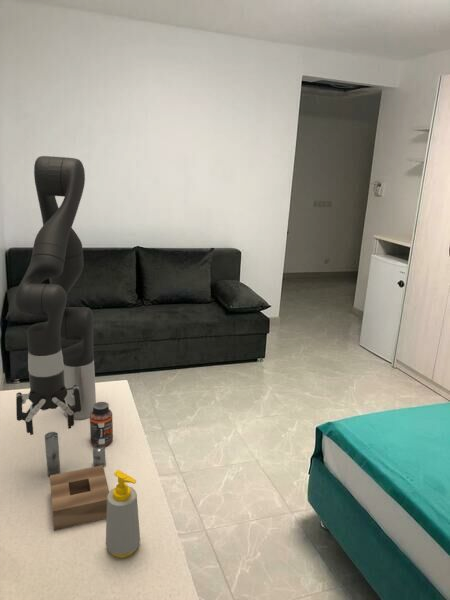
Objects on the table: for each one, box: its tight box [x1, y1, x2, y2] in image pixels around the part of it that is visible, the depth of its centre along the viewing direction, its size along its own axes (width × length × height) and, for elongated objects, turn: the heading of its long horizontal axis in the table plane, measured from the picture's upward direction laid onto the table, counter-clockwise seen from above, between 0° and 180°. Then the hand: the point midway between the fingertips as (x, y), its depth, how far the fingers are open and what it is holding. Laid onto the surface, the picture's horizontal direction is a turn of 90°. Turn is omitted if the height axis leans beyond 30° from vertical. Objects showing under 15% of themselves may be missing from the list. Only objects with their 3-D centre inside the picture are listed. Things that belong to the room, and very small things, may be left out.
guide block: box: [49, 465, 110, 531], centre depth 110 cm, size 12×12×5 cm
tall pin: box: [44, 431, 61, 478], centre depth 118 cm, size 3×3×11 cm
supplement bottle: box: [89, 401, 114, 447], centre depth 132 cm, size 6×6×11 cm
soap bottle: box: [105, 469, 141, 559], centre depth 97 cm, size 7×7×18 cm
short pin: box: [92, 445, 107, 468], centre depth 123 cm, size 3×3×5 cm
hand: (50, 430), depth 116 cm, fingers open, 8 cm apart
